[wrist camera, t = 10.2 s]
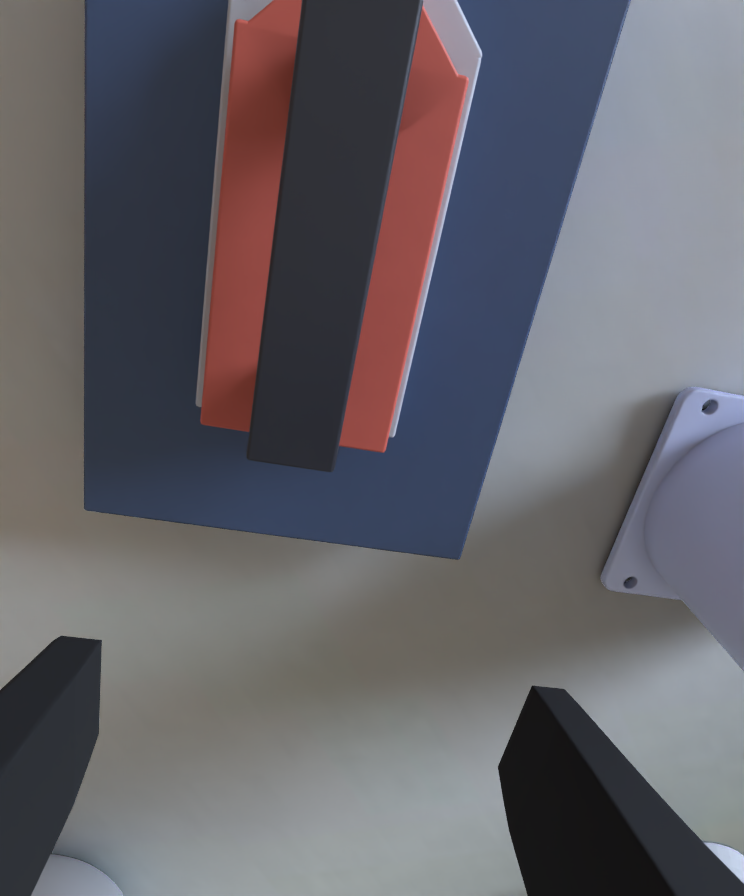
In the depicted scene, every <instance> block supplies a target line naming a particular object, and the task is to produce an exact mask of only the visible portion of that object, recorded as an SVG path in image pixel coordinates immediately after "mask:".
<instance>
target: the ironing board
mask: <svg viewBox="0 0 744 896" xmlns="http://www.w3.org/2000/svg"><path fill="white" fill-rule="evenodd" d="M630 1H631V0H457V2H458V4H459V6H460V8H461V10H462V12H463V14H464V16H465V18H466V20H467V22H468V24H469V26H470V28H471V31H472V33H473V35H474V37H475V39H476V41H477V43H478V45H479V47H480V49H481V51H482V58H481V63H480V68H479V72H478V77H477V81H476V85H475V90H474V94H473V98H472V103H471V107H470V111H469V116H468V120H467V124H466V129H465V133H464V137H463V142H462V146H461V150H460V155H459V159H458V163H457V168H456V172H455V176H454V181H453V185H452V189H451V194H450V198H449V202H448V207H447V211H446V216H445V220H444V224H443V229H442V233H441V237H440V242H439V246H438V250H437V255H436V259H435V263H434V268H433V272H432V276H431V281H430V285H429V289H428V294H427V298H426V302H425V307H424V311H423V315H422V320H421V324H420V328H419V333H418V337H417V342H416V346H415V350H414V355H413V359H412V363H411V368H410V372H409V376H408V381H407V385H406V389H405V394H404V398H403V402H402V407H401V411H400V415H399V420H398V424H397V428H396V433H395V436H394V437H392V438H391V437H389V438H388V442H387V447H386V450H385V452H384V453H380V452H374V451H368V450H361V449H355V448H348V447H342V446H339V448H338V453H337V459H336V464H335V469H334V470H333V472H324V471H318V470H311V469H304V468H297V467H291V466H284V465H277V464H271V463H264V462H257V461H251V460H248V459H247V457H246V453H247V445H248V437H249V432H246V431H239V430H233V429H227V428H220V427H214V426H207V425H202V424H201V422H200V418H201V407H198V406H196V391H197V379H198V367H199V354H200V342H201V330H202V318H203V305H204V293H205V281H206V269H207V256H208V244H209V232H210V220H211V207H212V195H213V183H214V171H215V158H216V146H217V134H218V122H219V109H220V97H221V85H222V73H223V60H224V48H225V36H226V24H227V11H228V0H85V178H84V509H85V510H86V511H94V512H101V513H109V514H116V515H124V516H131V517H139V518H147V519H154V520H162V521H169V522H177V523H184V524H192V525H199V526H207V527H214V528H222V529H229V530H237V531H245V532H252V533H260V534H267V535H275V536H282V537H290V538H297V539H305V540H312V541H320V542H328V543H335V544H343V545H350V546H358V547H365V548H373V549H380V550H388V551H395V552H403V553H410V554H418V555H426V556H433V557H441V558H448V559H456V560H459V559H460V557H461V554H462V551H463V547H464V544H465V541H466V537H467V534H468V531H469V528H470V524H471V521H472V518H473V515H474V511H475V508H476V505H477V501H478V498H479V495H480V492H481V488H482V485H483V482H484V479H485V475H486V472H487V469H488V465H489V462H490V459H491V456H492V452H493V449H494V446H495V443H496V439H497V436H498V433H499V430H500V426H501V423H502V420H503V416H504V413H505V410H506V407H507V403H508V400H509V397H510V394H511V390H512V387H513V384H514V380H515V377H516V374H517V371H518V367H519V364H520V361H521V358H522V354H523V351H524V348H525V345H526V341H527V338H528V335H529V331H530V328H531V325H532V322H533V318H534V315H535V312H536V309H537V305H538V302H539V299H540V295H541V292H542V289H543V286H544V282H545V279H546V276H547V273H548V269H549V266H550V263H551V260H552V256H553V253H554V250H555V246H556V243H557V240H558V237H559V233H560V230H561V227H562V224H563V220H564V217H565V214H566V210H567V207H568V204H569V201H570V197H571V194H572V191H573V188H574V184H575V181H576V178H577V174H578V171H579V168H580V165H581V161H582V158H583V155H584V152H585V148H586V145H587V142H588V139H589V135H590V132H591V129H592V125H593V122H594V119H595V116H596V112H597V109H598V106H599V103H600V99H601V96H602V93H603V89H604V86H605V83H606V80H607V76H608V73H609V70H610V67H611V63H612V60H613V57H614V54H615V50H616V47H617V44H618V40H619V37H620V34H621V31H622V27H623V24H624V21H625V18H626V14H627V11H628V8H629V4H630Z"/></svg>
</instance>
